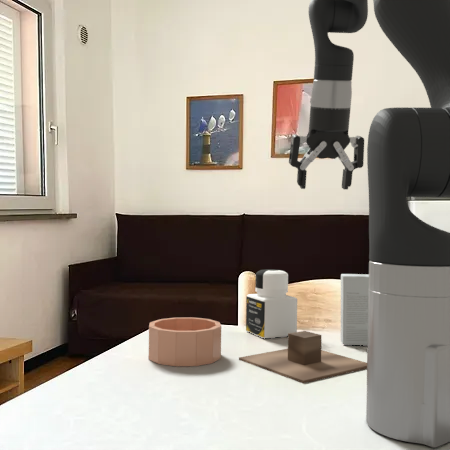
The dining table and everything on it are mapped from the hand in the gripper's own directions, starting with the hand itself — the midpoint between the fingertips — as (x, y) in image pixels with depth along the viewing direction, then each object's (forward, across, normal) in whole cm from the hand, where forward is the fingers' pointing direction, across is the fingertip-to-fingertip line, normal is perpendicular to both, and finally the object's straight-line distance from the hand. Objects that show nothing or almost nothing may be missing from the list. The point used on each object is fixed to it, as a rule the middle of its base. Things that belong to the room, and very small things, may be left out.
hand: (323, 188), depth 106 cm
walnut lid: (+20, -9, -32) cm, 39 cm away
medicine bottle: (+25, -11, -13) cm, 31 cm away
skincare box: (+23, +3, -20) cm, 31 cm away
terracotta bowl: (+21, -27, -28) cm, 44 cm away
